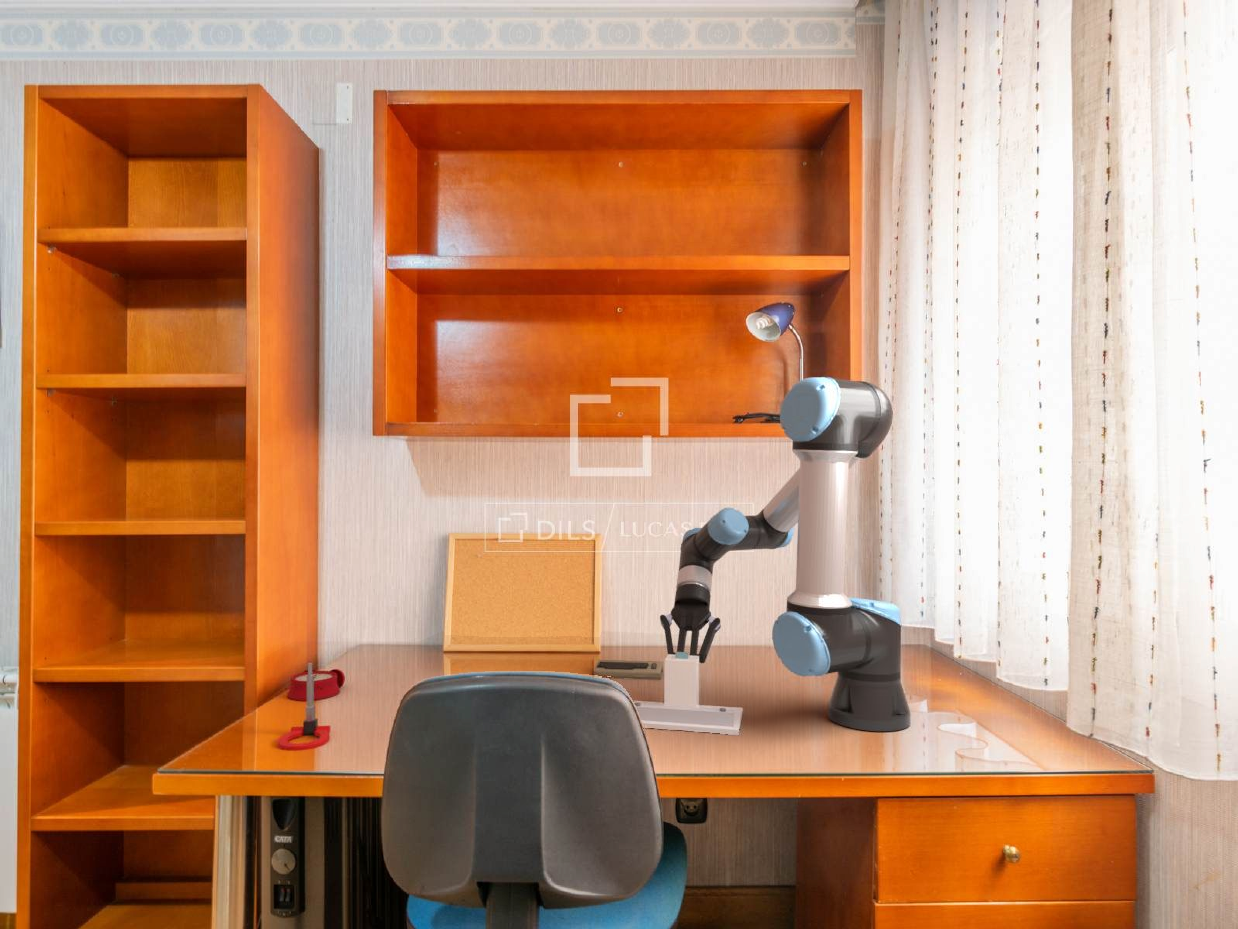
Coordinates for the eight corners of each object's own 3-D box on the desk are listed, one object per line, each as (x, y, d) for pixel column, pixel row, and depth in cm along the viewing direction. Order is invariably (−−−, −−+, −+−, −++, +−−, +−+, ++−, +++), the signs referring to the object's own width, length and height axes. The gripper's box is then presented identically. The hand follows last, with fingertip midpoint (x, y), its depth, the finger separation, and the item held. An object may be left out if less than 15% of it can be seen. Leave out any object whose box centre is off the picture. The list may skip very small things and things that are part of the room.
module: (698, 713, 151) (699, 650, 151) (696, 720, 146) (696, 656, 147) (668, 711, 152) (668, 649, 153) (664, 718, 148) (664, 654, 148)
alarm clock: (277, 685, 160) (303, 653, 175) (279, 713, 161) (305, 679, 176) (328, 685, 161) (350, 653, 175) (330, 713, 162) (352, 679, 176)
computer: (593, 679, 182) (593, 665, 182) (597, 671, 190) (598, 657, 190) (661, 682, 180) (661, 667, 180) (662, 673, 188) (662, 659, 188)
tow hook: (322, 752, 133) (336, 732, 142) (322, 677, 132) (335, 661, 142) (270, 754, 132) (287, 734, 141) (270, 678, 131) (287, 662, 141)
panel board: (742, 712, 155) (742, 693, 155) (738, 735, 141) (738, 714, 141) (633, 705, 159) (633, 686, 160) (619, 726, 146) (619, 706, 146)
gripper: (724, 603, 170) (717, 703, 154) (665, 600, 173) (651, 698, 157) (723, 583, 165) (715, 684, 149) (661, 580, 168) (647, 680, 152)
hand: (682, 692), depth 153 cm, fingers closed
